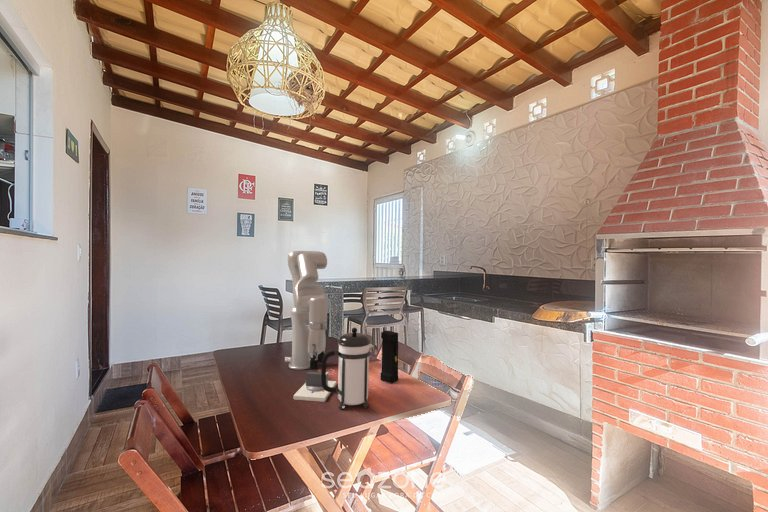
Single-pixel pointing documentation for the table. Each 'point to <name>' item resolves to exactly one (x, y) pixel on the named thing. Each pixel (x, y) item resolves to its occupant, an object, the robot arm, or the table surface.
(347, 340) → the coffee press
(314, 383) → the dial
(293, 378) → the table surface
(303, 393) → the dial panel
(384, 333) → the portable radio
